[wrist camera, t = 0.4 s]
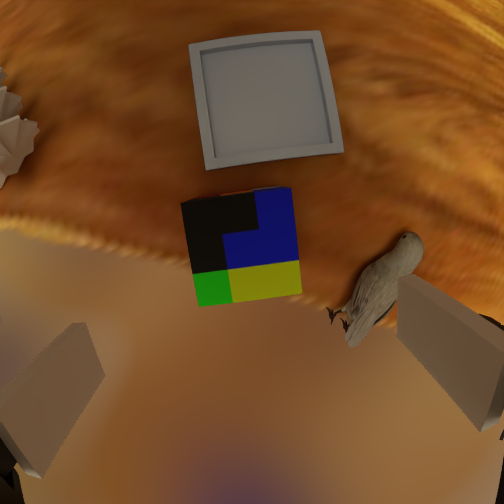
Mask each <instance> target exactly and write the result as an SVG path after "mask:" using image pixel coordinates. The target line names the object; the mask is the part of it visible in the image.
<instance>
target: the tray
mask: <svg viewBox="0 0 504 504" xmlns="http://www.w3.org/2000/svg"><path fill="white" fill-rule="evenodd" d="M189 53H190V61H191V69H192V77H193V85H194V92H195V99H196V107H197V114H198V121H199V128H200V135H201V141H202V148H203V155H204V161H205V168H206V170H207V171H210V170H216V169H222V168H228V167H235V166H241V165H248V164H255V163H262V162H269V161H276V160H284V159H292V158H301V157H310V156H320V155H330V154H339V153H343V152H344V147H343V140H342V134H341V128H340V122H339V116H338V111H337V105H336V100H335V95H334V90H333V85H332V80H331V75H330V70H329V66H328V61H327V57H326V53H325V48H324V44H323V40H322V36H321V32H320V31H291V32H275V33H263V34H253V35H244V36H237V37H229V38H222V39H216V40H210V41H205V42H199V43H194V44H189Z"/></svg>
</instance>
